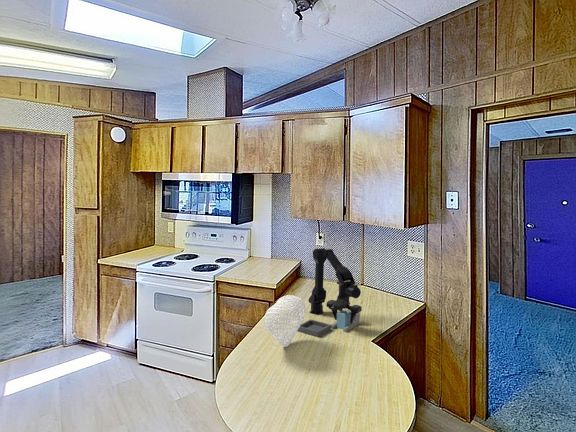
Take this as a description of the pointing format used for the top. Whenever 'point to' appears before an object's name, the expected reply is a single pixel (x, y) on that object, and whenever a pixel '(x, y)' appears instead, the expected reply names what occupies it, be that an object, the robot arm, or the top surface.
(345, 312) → the light blue block
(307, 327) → the tray
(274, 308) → the heart
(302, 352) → the top surface
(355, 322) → the dock
